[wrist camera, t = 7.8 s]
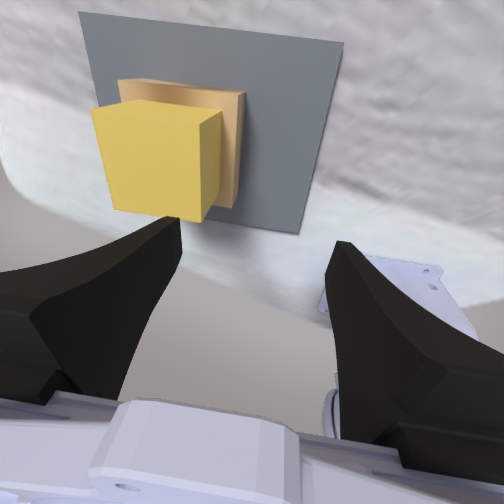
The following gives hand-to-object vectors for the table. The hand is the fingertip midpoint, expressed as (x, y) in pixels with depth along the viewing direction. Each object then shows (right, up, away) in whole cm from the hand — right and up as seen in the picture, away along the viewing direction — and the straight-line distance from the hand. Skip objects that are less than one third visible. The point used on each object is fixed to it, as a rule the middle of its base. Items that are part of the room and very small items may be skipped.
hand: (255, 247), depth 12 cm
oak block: (-4, +8, +7) cm, 12 cm away
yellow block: (-5, +6, +5) cm, 9 cm away
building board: (-3, +8, +8) cm, 12 cm away
